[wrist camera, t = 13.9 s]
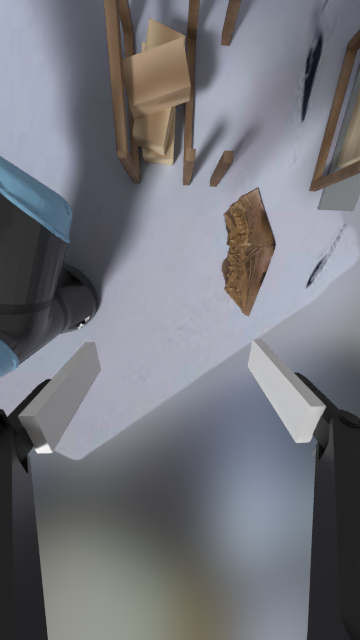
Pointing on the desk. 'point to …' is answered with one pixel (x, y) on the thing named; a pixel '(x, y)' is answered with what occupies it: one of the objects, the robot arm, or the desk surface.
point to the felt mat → (348, 189)
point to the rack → (118, 6)
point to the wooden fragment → (247, 249)
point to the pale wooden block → (352, 139)
